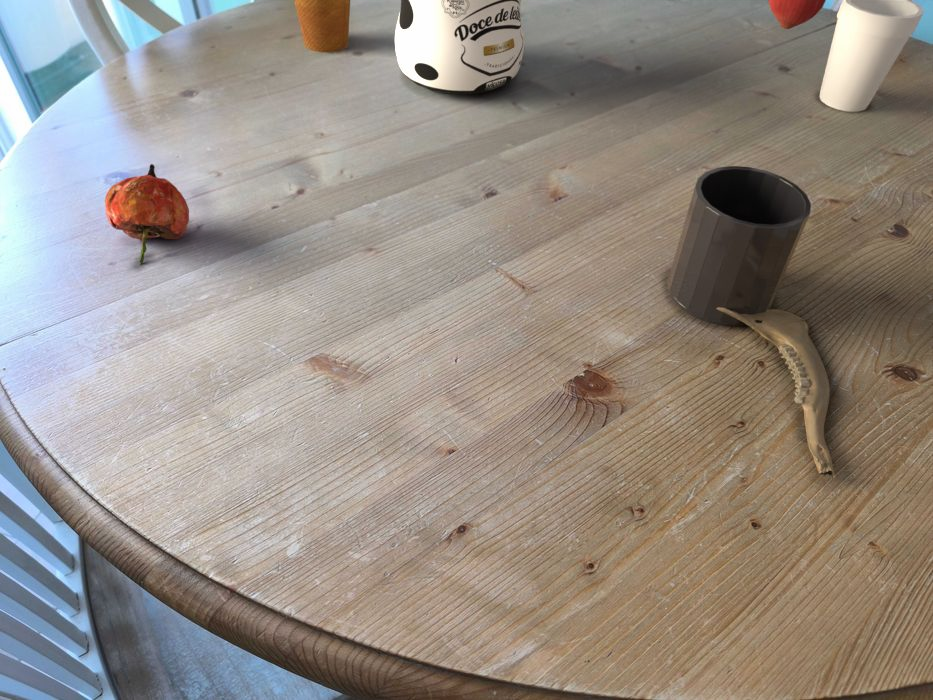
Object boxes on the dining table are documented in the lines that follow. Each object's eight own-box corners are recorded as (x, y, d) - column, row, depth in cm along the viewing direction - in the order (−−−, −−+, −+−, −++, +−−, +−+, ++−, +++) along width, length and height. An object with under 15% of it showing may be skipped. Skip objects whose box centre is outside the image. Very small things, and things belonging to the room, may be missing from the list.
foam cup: (794, 98, 103) (830, 0, 94) (828, 81, 108) (865, -15, 99) (858, 125, 98) (903, 24, 89) (891, 105, 103) (936, 7, 94)
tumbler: (757, 266, 75) (794, 169, 67) (779, 331, 68) (824, 231, 60) (661, 260, 75) (688, 162, 68) (674, 324, 68) (705, 223, 61)
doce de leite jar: (505, 114, 96) (517, -36, 84) (378, 94, 99) (371, -55, 87) (532, 61, 108) (546, -77, 96) (418, 44, 111) (417, -92, 99)
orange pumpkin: (193, 278, 74) (213, 182, 75) (147, 256, 67) (170, 151, 68) (127, 271, 75) (148, 177, 77) (76, 249, 68) (100, 146, 70)
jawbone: (773, 302, 72) (782, 285, 71) (915, 471, 58) (930, 454, 57) (692, 308, 69) (700, 290, 68) (820, 486, 56) (833, 469, 54)
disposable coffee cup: (283, 39, 111) (271, -49, 102) (341, 27, 115) (334, -58, 106) (310, 63, 105) (300, -28, 97) (370, 50, 109) (366, -39, 101)
